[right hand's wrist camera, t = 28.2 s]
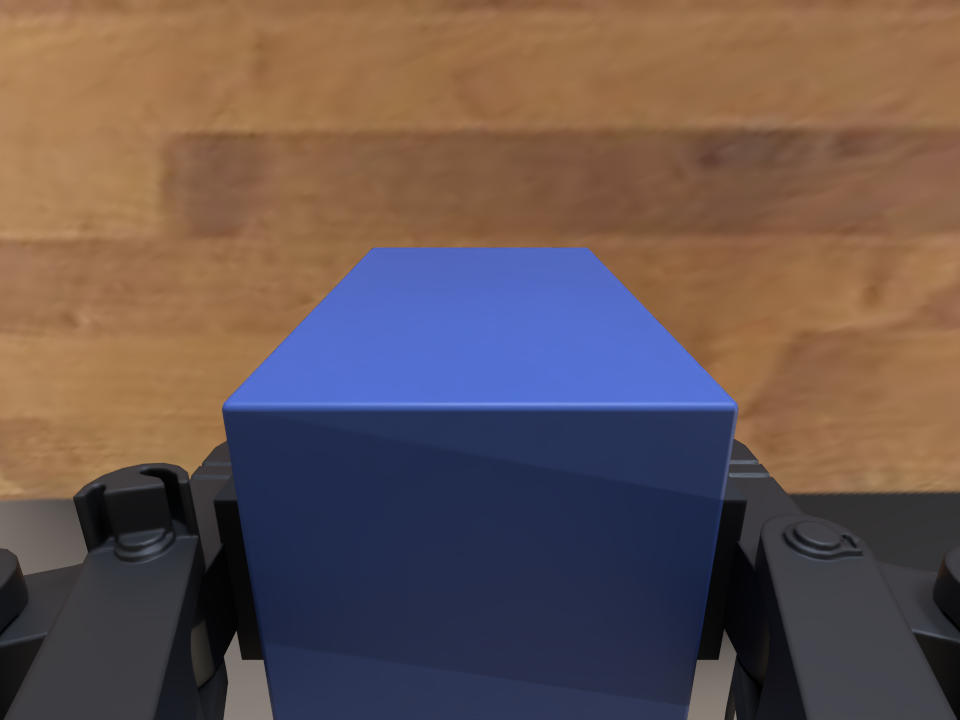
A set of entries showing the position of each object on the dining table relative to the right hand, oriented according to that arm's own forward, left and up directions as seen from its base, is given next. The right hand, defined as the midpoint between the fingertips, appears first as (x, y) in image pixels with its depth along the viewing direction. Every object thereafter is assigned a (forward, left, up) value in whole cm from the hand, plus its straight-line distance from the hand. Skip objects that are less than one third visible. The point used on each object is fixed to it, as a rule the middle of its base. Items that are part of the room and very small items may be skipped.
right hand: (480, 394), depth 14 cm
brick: (0, 0, -2) cm, 2 cm away
